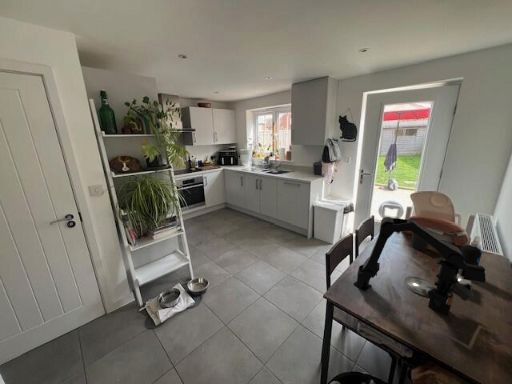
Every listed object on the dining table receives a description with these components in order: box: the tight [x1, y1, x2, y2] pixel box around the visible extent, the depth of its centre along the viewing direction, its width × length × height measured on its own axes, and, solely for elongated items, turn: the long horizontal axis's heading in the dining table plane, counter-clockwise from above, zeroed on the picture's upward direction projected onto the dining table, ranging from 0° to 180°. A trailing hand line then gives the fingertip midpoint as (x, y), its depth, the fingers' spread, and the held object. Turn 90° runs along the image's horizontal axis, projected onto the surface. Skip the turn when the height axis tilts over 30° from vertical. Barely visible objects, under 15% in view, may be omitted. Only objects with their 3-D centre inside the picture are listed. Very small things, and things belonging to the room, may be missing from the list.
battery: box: [427, 286, 455, 316], centre depth 91 cm, size 4×7×10 cm, turn 39°
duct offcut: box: [457, 274, 472, 285], centre depth 103 cm, size 10×6×6 cm, turn 134°
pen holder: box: [410, 232, 429, 252], centre depth 141 cm, size 9×9×10 cm
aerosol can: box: [458, 241, 483, 274], centre depth 111 cm, size 8×8×20 cm
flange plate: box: [404, 276, 437, 298], centre depth 106 cm, size 14×14×1 cm
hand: (439, 304), depth 92 cm, fingers closed on battery, 4 cm apart
